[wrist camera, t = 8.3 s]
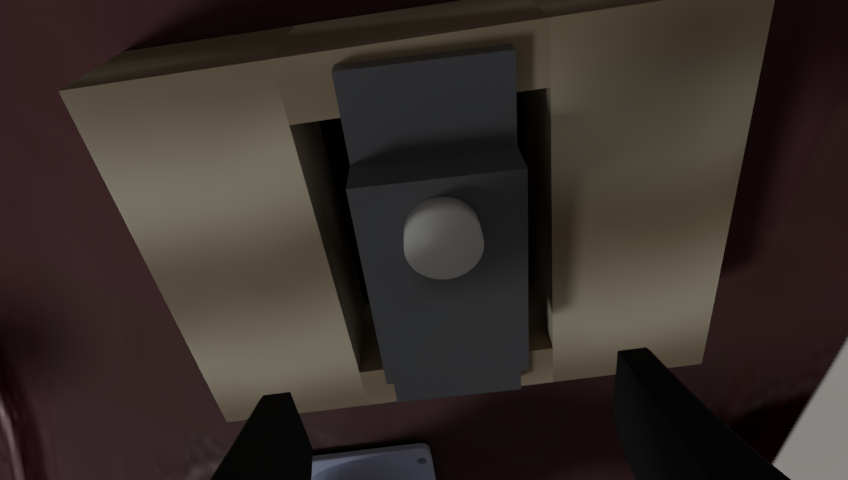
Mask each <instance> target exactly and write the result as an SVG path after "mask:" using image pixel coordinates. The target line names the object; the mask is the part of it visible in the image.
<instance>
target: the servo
mask: <svg viewBox="0 0 848 480" xmlns="http://www.w3.org/2000/svg"><path fill="white" fill-rule="evenodd" d="M331 73H332V78H333V83H334V88H335V93H336V98H337V103H338V108H339V113H340V118H341V123H342V128H343V133H344V138H345V143H346V148H347V153H348V158H349V163H350V167H349V173H348V179H347V185H346V193H347V198H348V203H349V207H350V212H351V217H352V222H353V226H354V231H355V236H356V241H357V245H358V250H359V255H360V260H361V264H362V269H363V274H364V279H365V283H366V288H367V293H368V298H369V302H370V307H371V312H372V317H373V321H374V326H375V331H376V336H377V340H378V345H379V350H380V355H381V359H382V364H383V369H384V374H385V378H386V383H387V384H394V388H395V393H396V398H397V402H404V401H414V400H423V399H433V398H442V397H452V396H461V395H471V394H480V393H490V392H499V391H509V390H518V389H521V370H527V369H529V331H528V168H527V166H526V164H525V161H524V159H523V157H522V155H521V153H520V150H519V148H518V146H517V96H516V49H515V48H514V46H513V45H512V44H504V45H495V46H487V47H479V48H471V49H462V50H454V51H446V52H438V53H429V54H421V55H413V56H405V57H397V58H388V59H380V60H372V61H364V62H355V63H347V64H339V65H334V66H333V68H332V71H331Z"/></svg>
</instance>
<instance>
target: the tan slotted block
mask: <svg viewBox="0 0 848 480" xmlns="http://www.w3.org/2000/svg"><path fill="white" fill-rule="evenodd" d="M774 2H775V0H459V1H453V2H446V3H440V4H433V5H427V6H420V7H413V8H407V9H400V10H394V11H387V12H380V13H374V14H367V15H361V16H354V17H348V18H341V19H334V20H328V21H321V22H315V23H308V24H302V25H295V26H288V27H282V28H275V29H269V30H262V31H255V32H249V33H242V34H236V35H229V36H223V37H216V38H209V39H203V40H196V41H190V42H183V43H176V44H170V45H163V46H157V47H150V48H144V49H137V50H130V51H124V52H122V53H120V54H118V55H117V56H115V57H113V58H112V59H110V60H108V61H107V62H105V63H104V64H102V65H100V66H99V67H97V68H95V69H94V70H92V71H90V72H89V73H87V74H85V75H84V76H82V77H81V78H79V79H77V80H76V81H74V82H72V83H71V84H69V85H67V86H66V87H64V88H63V89H61V90H59V93H60V95H61V97H62V99H63V101H64V103H65V105H66V107H67V109H68V111H69V113H70V115H71V117H72V119H73V121H74V123H75V125H76V126H77V128H78V130H79V132H80V134H81V136H82V138H83V140H84V142H85V144H86V146H87V148H88V150H89V152H90V154H91V156H92V158H93V160H94V162H95V164H96V166H97V168H98V170H99V172H100V174H101V176H102V178H103V180H104V182H105V184H106V185H107V187H108V189H109V191H110V193H111V195H112V197H113V199H114V201H115V203H116V205H117V207H118V209H119V211H120V213H121V215H122V217H123V219H124V221H125V223H126V225H127V227H128V229H129V231H130V233H131V235H132V237H133V239H134V241H135V242H136V244H137V246H138V248H139V250H140V252H141V254H142V256H143V258H144V260H145V262H146V264H147V266H148V268H149V270H150V272H151V274H152V276H153V278H154V280H155V282H156V284H157V286H158V288H159V290H160V292H161V294H162V296H163V298H164V300H165V301H166V303H167V305H168V307H169V309H170V311H171V313H172V315H173V317H174V319H175V321H176V323H177V325H178V327H179V329H180V331H181V333H182V335H183V337H184V339H185V341H186V343H187V345H188V347H189V349H190V351H191V353H192V355H193V357H194V358H195V360H196V362H197V364H198V366H199V368H200V370H201V372H202V374H203V376H204V378H205V380H206V382H207V384H208V386H209V388H210V390H211V392H212V394H213V396H214V398H215V400H216V402H217V404H218V406H219V408H220V410H221V412H222V414H223V416H224V417H225V419H226V421H227V422H233V421H241V420H248V418H249V417H250V415H251V413H252V412H253V410H254V408H255V407H256V405H257V403H258V402H259V400H260V399H261V398H262V396H263V395H270V394H278V393H286V392H290V393H291V395H292V398H293V400H294V403H295V405H296V408H297V410H298V413H306V412H314V411H322V410H330V409H338V408H347V407H355V406H363V405H371V404H379V403H387V402H395V401H397V398H396V393H395V388H394V384H387V383H386V378H385V374H384V369H383V364H382V359H381V355H380V350H379V345H378V340H377V336H376V331H375V326H374V321H373V317H372V312H371V307H370V303H365V302H364V298H363V294H362V290H361V286H360V282H359V278H358V274H357V270H356V266H355V262H354V258H353V254H352V250H351V246H350V242H349V238H348V234H347V230H346V226H345V222H344V218H343V215H342V211H341V207H340V203H339V199H338V195H337V191H336V187H335V183H334V179H333V175H332V171H331V167H330V163H329V159H328V155H327V151H326V147H325V143H324V139H323V135H322V131H321V127H320V123H319V121H322V120H328V119H335V118H340V113H339V108H338V103H337V98H336V93H335V88H334V83H333V78H332V73H331V71H332V68H333V66H334V65H339V64H347V63H355V62H364V61H372V60H380V59H388V58H397V57H405V56H413V55H421V54H429V53H438V52H446V51H454V50H462V49H471V48H479V47H487V46H495V45H504V44H512V45H513V46H514V48H515V49H516V92H522V91H524V106H525V135H526V164H527V168H528V221H529V249H530V278H531V282H528V331H529V369H527V370H521V386H525V385H533V384H541V383H549V382H557V381H565V380H573V379H582V378H590V377H598V376H606V375H614V374H616V366H617V353H618V351H621V350H629V349H637V348H645V347H647V348H648V349H649V350H650V351H652V353H653V354H654V355H655V356H656V357H657V358H658V359H659V360H660V361H661V362H662V363H663V364H664V365H665V366H666V367H667V368H671V367H679V366H687V365H695V364H702V359H703V354H704V350H705V345H706V340H707V335H708V330H709V325H710V320H711V315H712V310H713V305H714V300H715V295H716V290H717V285H718V280H719V275H720V270H721V265H722V260H723V255H724V250H725V245H726V240H727V235H728V231H729V226H730V221H731V216H732V211H733V206H734V201H735V196H736V191H737V186H738V181H739V176H740V171H741V166H742V161H743V156H744V151H745V146H746V141H747V136H748V131H749V126H750V121H751V116H752V112H753V107H754V102H755V97H756V92H757V87H758V82H759V77H760V72H761V67H762V62H763V57H764V52H765V47H766V42H767V37H768V32H769V27H770V22H771V17H772V12H773V7H774Z"/></svg>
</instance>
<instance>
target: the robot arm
mask: <svg viewBox="0 0 848 480" xmlns="http://www.w3.org/2000/svg"><path fill="white" fill-rule="evenodd" d="M613 416H614V420H615V423H616V426H617V429H618V433H619V436H620V439H621V442H622V445H623V448H624V451H625V454H626V457H627V460H628V462H629V465H630V467H631V469H632V471H633V474H634V476H635V478H636V480H790V479H789V478H788V477H787V476H785V475H784V474H783V473H782V472H780V471H779V470H778V469H777V468H776V467H774V466H773V465H772V464H771V463H769V462H768V461H767V460H766V459H765V458H764V457H762V456H761V455H760V454H759V453H758V452H756V451H755V450H754V449H753V448H752V447H750V446H749V445H748V444H747V443H746V442H745V441H744V440H742V439H741V438H740V437H739V436H738V435H737V434H736V433H734V432H733V431H732V430H731V429H730V428H729V427H728V426H727V425H726V424H725V423H724V422H723V421H721V420H720V419H719V418H718V417H717V416H716V415H715V414H714V413H713V412H712V411H711V410H709V409H708V408H707V407H706V406H705V405H704V404H703V403H702V402H701V401H700V400H699V399H698V398H697V397H696V396H695V395H694V394H693V393H692V392H691V391H690V390H689V389H688V388H687V387H686V386H685V385H684V384H683V383H682V382H681V381H680V380H679V379H678V378H677V377H676V376H675V375H674V374H673V373H672V372H671V371H670V370H669V369H668V368H667V367H666V366H665V365H664V364H663V363H662V362H661V361H660V360H659V359H658V358H657V357H656V356H655V355H654V354H653V353H652V351H650V350H649V349H648V348H647V347H645V348H637V349H629V350H621V351H618V353H617V366H616V378H615V390H614V403H613ZM210 480H436V475H435V470H434V466H433V461H432V456H431V451H430V447H429V446H428V445H427V444H424V443H415V444H407V445H398V446H390V447H382V448H373V449H365V450H357V451H349V452H340V453H332V454H324V455H315V456H313V449H312V446H311V444H310V441H309V438H308V436H307V433H306V431H305V428H304V426H303V423H302V421H301V418H300V416H299V413H298V410H297V408H296V405H295V403H294V400H293V398H292V395H291V393H290V392H286V393H278V394H270V395H263V396H262V398H261V399H260V400H259V402H258V403H257V405H256V407H255V408H254V410H253V412H252V413H251V415H250V417H249V418H248V420H247V422H246V423H245V425H244V427H243V428H242V430H241V432H240V433H239V435H238V437H237V438H236V440H235V441H234V443H233V445H232V446H231V448H230V450H229V451H228V453H227V454H226V456H225V457H224V459H223V461H222V462H221V464H220V465H219V467H218V468H217V470H216V471H215V473H214V474H213V476H212V477H211V479H210Z"/></svg>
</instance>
